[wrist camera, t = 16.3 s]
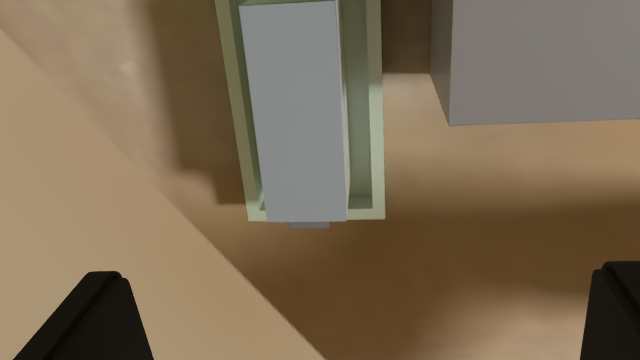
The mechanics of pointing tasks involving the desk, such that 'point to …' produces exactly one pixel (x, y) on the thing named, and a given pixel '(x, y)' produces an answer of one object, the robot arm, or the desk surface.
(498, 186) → the desk surface
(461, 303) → the desk surface
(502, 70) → the grey rectangular box
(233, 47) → the tray
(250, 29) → the pale grey block
